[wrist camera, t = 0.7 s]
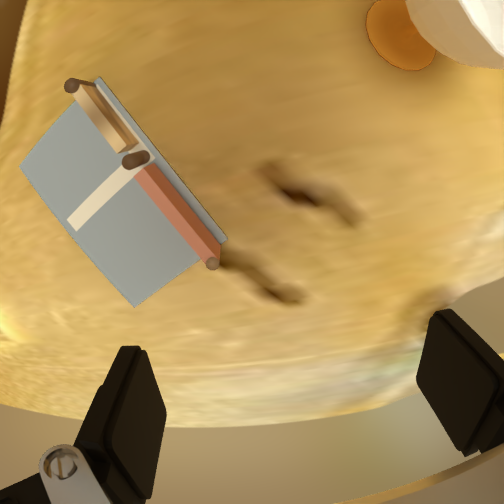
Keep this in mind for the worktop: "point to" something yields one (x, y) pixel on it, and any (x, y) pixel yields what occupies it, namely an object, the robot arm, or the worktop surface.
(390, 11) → the cup
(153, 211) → the card
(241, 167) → the worktop surface
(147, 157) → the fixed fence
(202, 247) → the bar
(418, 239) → the worktop surface
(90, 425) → the robot arm
